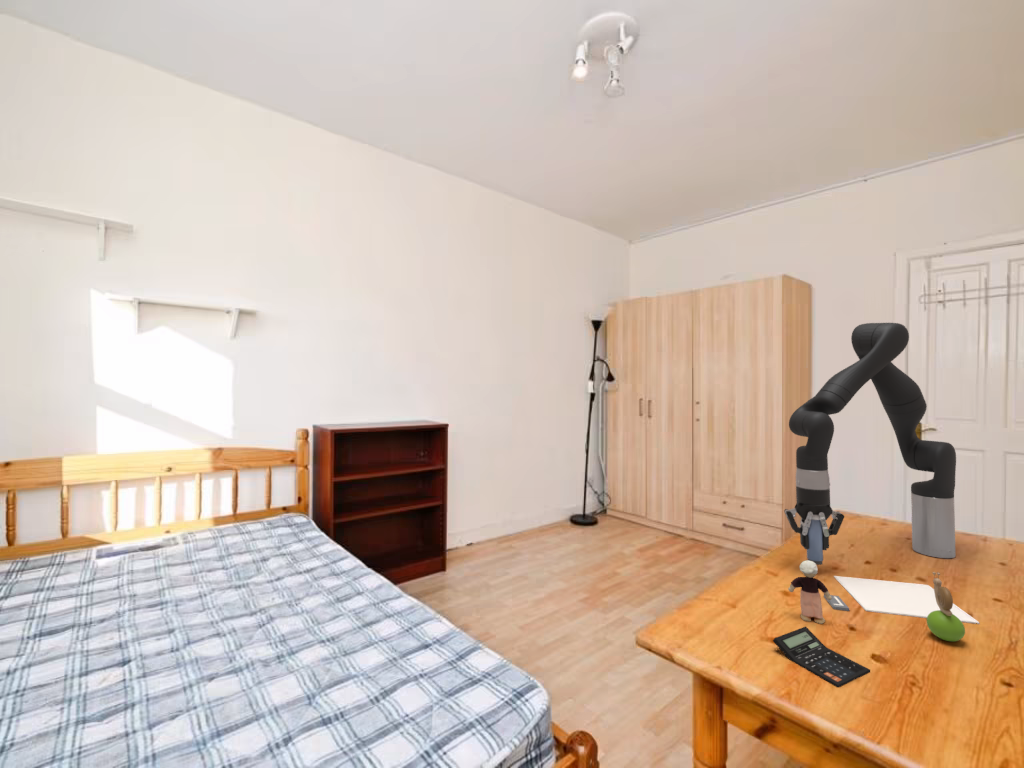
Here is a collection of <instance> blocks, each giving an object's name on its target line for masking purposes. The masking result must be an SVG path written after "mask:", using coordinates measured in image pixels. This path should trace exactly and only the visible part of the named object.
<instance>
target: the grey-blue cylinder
mask: <svg viewBox="0 0 1024 768" xmlns="http://www.w3.org/2000/svg"><path fill="white" fill-rule="evenodd" d="M807 535H808V544H809V549H806V559H807V560H809V561H813V562H814V563H815V564H816V566H819V565H820V566H821V565H823V561H824V550H823V539H822V526H821V522H820V518H819V515H813V516H812V519H811V523H810V527H809V529H808V533H807Z"/></svg>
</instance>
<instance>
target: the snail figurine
mask: <svg viewBox="0 0 1024 768" xmlns="http://www.w3.org/2000/svg"><path fill="white" fill-rule="evenodd" d="M932 575H933V580H932V581H933V589H934V593H935V598H936V602H937V605H938V606H939V608H940V610H937V611H933V612H931V613H930V614H929V615H928V616H927V618H926V625H927V627H928V629H929V630H930V632H931V633H932V634H933V635H934V636H935V637H938V638H939V639H940V640H943V641H946V642H958V641H961V640H962V639H963V638H964V636H965V634H966V629H965V626H964V624H963V623H964V622H961V621H960V619H959V618H957V617H956V616H955V615H953V614H952V612H951V611H950V609H951V608H952V606H953V604H954V599H953V595H952V592H951V590H949V589H948V587H946V586H942V585H943V583H942V580H941V579H940V575H941V573H940V572H936V571H932ZM936 575H937V577H936V578H935V576H936Z"/></svg>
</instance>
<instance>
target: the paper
mask: <svg viewBox="0 0 1024 768" xmlns="http://www.w3.org/2000/svg"><path fill="white" fill-rule="evenodd" d="M833 578H834V579H835V580H836V581H837V582H838V583H839V584H840V585H841V586H842V587H843V588H844V589H845V591H846V592H848V594H849V595H850V596H851V597H852V598H853V599H854V600H855V601H856V602H857V603H858V604H859V605H860V606H861V608H862V609H863V610H865V612H873V613H879V614H880V613H881V614H888V615H889V614H890V615H899V616H907V617H916V618H922V619H923V618H924V619H927V616H928V615H929V614H930V613H931V612H933V611H937V610H940V608H939V606H938V605H937V602H936V598H935V593H934V587H932V586H930V585H929V584H922V583H914V582H901V581H891V580H882V579H881V580H880V579H872V578H870V579H869V578H859V577H850V576H838V575H833ZM950 611H951V612H952V614H953V615H955V616H956V617H957V618H959V619H960V621H961V622H962V623H966V624H967V623H968V624H976V623H977V624H976V625H980V622H979V620H977V619H975V618H974V617H972V615H970V614H968V613H967V612H966V611H965V610H963V609H961V608H960V607H959V606H957V605H956V604H955V603H953V606H952V608H951V609H950Z"/></svg>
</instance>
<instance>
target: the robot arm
mask: <svg viewBox="0 0 1024 768" xmlns="http://www.w3.org/2000/svg"><path fill="white" fill-rule="evenodd" d="M909 340H910V334H909V330H908V328H907V327H906V326H905V325H904V324H902V323H898V322H869V323H868V322H867V323H861V324H859V325H857V326H855V327H854V329H853V330H852V332H851V345H852V348H853V351H854V352H855V354H856V356H857V358H858V361H856V362H854V363H853V364H851V365H849V366H847V367H845V368H844V369H841V370H840V371H839V372H837V373H834V375H833V376H831V377H830V378H829V379H828V380H827V381H826V382H825V383H824V384H823V385H822V387H821V388H820V389H819V390H818V392H817V393H816V394H815V396H813V397H811V398H810V399H809V400H807V401H806V402H805V403H803V404H802V405H800V406H799V407H798V408H797V409H796V410H795V411H794V412H793V413H792V414H791V416H790V417H789V420H788V427H789V430H790V431H791V432H792V433H793V434H794V435H797V436H800V437H804V438H805V437H806V438H807V440H806V444H805V445H802V446H799V447H797V449H796V451H795V461H796V462H795V463H796V465H795V466H796V467H795V468H796V469H795V491H796V492H795V493H796V494H795V495H796V496H795V497H796V498H795V499H796V500H795V501H796V504H795V505H794V508H790V509H788V508H785V509H784V510H783V511H784V514H785V517H786V518H787V520H788V523H789V525H790V528H791V530H793V531H794V532H795V533H797V534H799V537H800V538H799V539H800V540H799V541H800V545H801V546H802V547H803V548H804V549H805V550H807V549H809V544H808V535H807V533H808V529H809V527H810V523H811V519H812V516H813V515H819V518H820V522H821V526H822V539H823V551H827V549H829V548H830V536H836V535H838V533H839V530H840V528H841V527H842V524H843V521H844V518H845V515H844V514H843V513H842V512H840V511H835V510H833V509H832V507H831V487H830V486H831V482H830V475H829V474H830V473H829V462H828V461H829V459H828V458H829V457H828V454H829V450H830V448H831V443H832V441H833V437H834V432H835V425H834V421H833V419H832V418H831V416H830V415H836V414H838V413H841V412H842V411H843V409H845V407H846V406H847V405H848V404H849V402H850V401H851V400H852V399H853V398H854V396H855V395H856V394H857V393H858V392H859V390H860V389H862V388H863V387H864V385H865V384H866V383H868V382H869V381H870V380H871V382H872V384H873V387H874V388H875V390H876V392H877V396H878V398H879V399H880V402H881V404H882V407H883V409H884V411H885V413H886V415H887V418H888V419H889V421H890V424H891V426H892V429H893V431H894V433H895V437H896V440H897V443H898V446H899V450H900V453H901V457H902V460H903V461H904V463H905V464H906V466H907V467H908V468H910V469H912V470H915V471H920V472H921V471H922V472H928V473H933V477H932V478H931V479H929V480H924V481H923V480H922V481H917V482H913V483H912V484H911V485H910V492H911V493H910V495H911V496H910V497H911V500H910V501H911V543H912V545H911V546H912V550H913V551H914V552H916V553H918V554H921V555H924V556H929V557H933V558H941V559H954V558H955V557H956V518H955V517H956V516H955V515H956V514H955V489H956V471H957V470H956V468H957V454H956V450H955V447H954V446H953V445H952V443H950V442H946V441H938V440H937V441H935V440H927V439H926V440H924V439H920V438H919V437H918V436H917V433H916V429H917V427H918V425H919V423H920V422H921V420H923V417H924V416H925V414H926V411H927V406H928V405H927V402H926V399H925V397H924V395H923V392H922V390H921V387H920V386H919V385H918V383H917V382H916V381H915V380H913V379H912V377H910V376H909V375H907V374H906V372H904V371H902V370H901V369H900V368H899V367H897V366H896V364H894V363H893V361H894V359H896V358H897V357H899V356H900V354H902V353H903V351H904V350H905V349H906V347H907V345H908V343H909V342H910V341H909ZM796 514H798V515H799V516H800V525H798V524H797V521H796V519H795V518H796V517H797V515H796ZM830 517H831V518H832V520H831V522H830V525H829V526H828V523H827V520H828V519H829V518H830Z"/></svg>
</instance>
